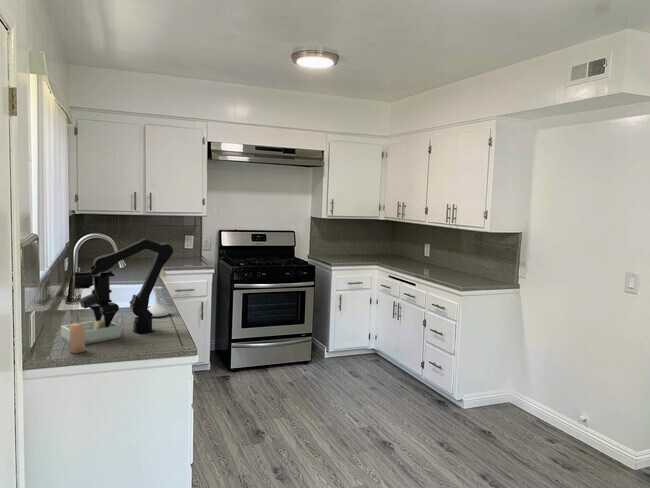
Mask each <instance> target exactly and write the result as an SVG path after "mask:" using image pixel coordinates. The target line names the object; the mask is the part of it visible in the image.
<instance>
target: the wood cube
mask: <svg viewBox="0 0 650 488" xmlns="http://www.w3.org/2000/svg"><path fill="white" fill-rule="evenodd" d="M93 321H94V329H100V328H106V327H105V322H104V320H103V319H101V320H99V321H96V320H93ZM109 327H111V323H110V325H109Z"/></svg>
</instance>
